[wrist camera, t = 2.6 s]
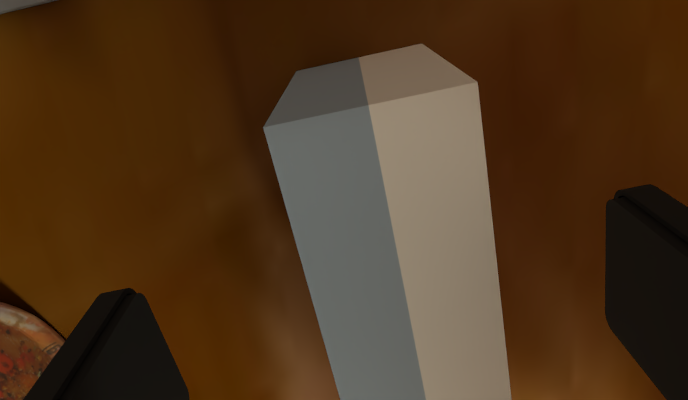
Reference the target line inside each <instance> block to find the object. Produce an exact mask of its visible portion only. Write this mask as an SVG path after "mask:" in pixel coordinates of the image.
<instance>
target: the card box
mask: <svg viewBox="0 0 688 400" xmlns="http://www.w3.org/2000/svg"><path fill="white" fill-rule="evenodd" d="M263 129H264V132H265V136H266V139H267V143H268V147H269V150H270V154H271V157H272V161H273V164H274V168H275V171H276V175H277V178H278V182H279V185H280V189H281V192H282V196H283V199H284V203H285V206H286V210H287V213H288V217H289V221H290V224H291V228H292V231H293V235H294V238H295V242H296V245H297V249H298V252H299V256H300V259H301V263H302V266H303V270H304V273H305V277H306V280H307V284H308V287H309V291H310V295H311V298H312V302H313V305H314V309H315V312H316V316H317V319H318V323H319V326H320V330H321V333H322V337H323V340H324V344H325V347H326V351H327V354H328V358H329V361H330V365H331V369H332V372H333V376H334V379H335V383H336V386H337V390H338V393H339V397H340V400H512V399H511V390H510V381H509V371H508V362H507V353H506V343H505V334H504V324H503V315H502V306H501V296H500V287H499V278H498V268H497V259H496V249H495V240H494V231H493V221H492V212H491V203H490V193H489V184H488V174H487V165H486V156H485V146H484V137H483V128H482V118H481V109H480V99H479V90H478V82H477V81H475V80H474V79H473V78H471V77H470V76H468V75H467V74H465V73H464V72H462V71H461V70H460V69H458V68H457V67H455V66H454V65H452V64H451V63H449V62H448V61H447V60H445V59H444V58H442V57H441V56H439V55H438V54H436V53H435V52H434V51H432V50H431V49H429V48H428V47H426V46H425V45H424V44H417V45H413V46H408V47H403V48H399V49H394V50H390V51H385V52H381V53H376V54H372V55H367V56H363V57H358V58H353V59H349V60H344V61H340V62H335V63H331V64H326V65H322V66H317V67H313V68H308V69H303V70H299V71H296V73H295V74H294V76H293V78H292V79H291V81H290V83H289V84H288V86H287V88H286V90H285V91H284V93H283V95H282V96H281V98H280V100H279V101H278V103H277V105H276V106H275V108H274V110H273V112H272V113H271V115H270V117H269V118H268V120H267V122H266V123H265V125H264V127H263Z"/></svg>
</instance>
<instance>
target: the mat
mask: <svg viewBox="0 0 688 400" xmlns="http://www.w3.org/2000/svg"><path fill="white" fill-rule="evenodd" d="M53 1H57V0H0V14H3V13H7V12H11V11H15V10H20V9H24V8H28V7H32V6H36V5H40V4H44V3H49V2H53Z"/></svg>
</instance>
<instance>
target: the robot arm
mask: <svg viewBox="0 0 688 400" xmlns="http://www.w3.org/2000/svg"><path fill="white" fill-rule="evenodd" d="M605 314H606V319H607V322H608V324H609V326H610V328H611V330H612V331H613V333H614V334H615V335H616V336H617V338H618V339H619V340H620V341H621V343H622V344H623V345H624V346H625V348H626V349H627V350H628V352H629V353H630V354H631V355H632V357H633V358H634V359H635V360H636V362H637V363H638V364H639V365H640V367H641V368H642V369H643V370H644V372H645V373H646V374H647V375H648V377H649V378H650V379H651V380H652V382H653V383H654V384H655V385H656V387H657V388H658V389H659V390H660V392H661V393H662V394H663V395H664V397H665V398H666V399H667V400H688V207H686V206H685V205H683V204H682V203H680V202H679V201H677V200H676V199H674V198H672V197H671V196H669V195H668V194H666V193H665V192H663V191H662V190H660V189H659V188H657V187H655V186H653V185H651V184H649V185H643V186H638V187H633V188H628V189H623V190H618V191H617V192H616V194H615V196H614V199H611V200H609V201H608V202H607V204H606V271H605ZM23 400H189V393H188V389H187V387H186V385H185V382H184V380H183V378H182V376H181V374H180V372H179V369H178V367H177V365H176V363H175V361H174V359H173V356H172V354H171V352H170V350H169V348H168V345H167V343H166V341H165V339H164V337H163V335H162V332H161V330H160V328H159V326H158V324H157V322H156V319H155V317H154V315H153V313H152V311H151V308H150V306H149V304H148V302H147V300H146V298H145V296H144V295H143V294H141V293H136V292H135V291H134V290H133V289H131V288H126V289H121V290H116V291H111V292H106V293H102V294H100V295H99V296H98V297H97V298H96V300H95V301H94V302H93V304H92V305H91V306H90V308H89V309H88V311H87V312H86V313H85V315H84V316H83V318H82V319H81V320H80V322H79V323H78V324H77V326H76V327H75V329H74V330H73V331H72V333H71V334H70V335H69V337H68V338H67V340H66V341H65V342H64V344H63V345H62V346H61V348H60V349H59V351H58V352H57V353H56V355H55V356H54V357H53V359H52V360H51V362H50V363H49V364H48V366H47V367H46V369H45V370H44V371H43V373H42V374H41V375H40V377H39V378H38V380H37V381H36V382H35V384H34V385H33V386H32V388H31V389H30V391H29V392H28V393H27V395H26V396H25V397H24V399H23Z"/></svg>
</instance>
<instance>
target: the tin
mask: <svg viewBox="0 0 688 400" xmlns="http://www.w3.org/2000/svg"><path fill="white" fill-rule="evenodd" d="M64 342H65V340H64V339H63V338H62V337H61V336H60V335H59V334H58V333H57V332H56V331H55V330H54V329H53V328H51V327H50V326H49V325H47V324H46V323H45V322H44V321H42V320H41V319H39V318H38V317H36V316H34V315H33V314H31V313H29V312H26V311H24V310H22V309H20V308H17V307H15V306H12V305H9V304H6V303H3V302H0V400H23V399H24V397H25V396H26V395H27V393H28V392H29V391H30V389H31V388H32V386H33V385H34V384H35V382H36V381H37V380H38V378H39V377H40V375H41V374H42V373H43V371H44V370H45V369H46V367H47V366H48V364H49V363H50V362H51V360H52V359H53V357H54V356H55V355H56V353H57V352H58V351H59V349H60V348H61V346H62V345H63V344H64Z"/></svg>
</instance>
